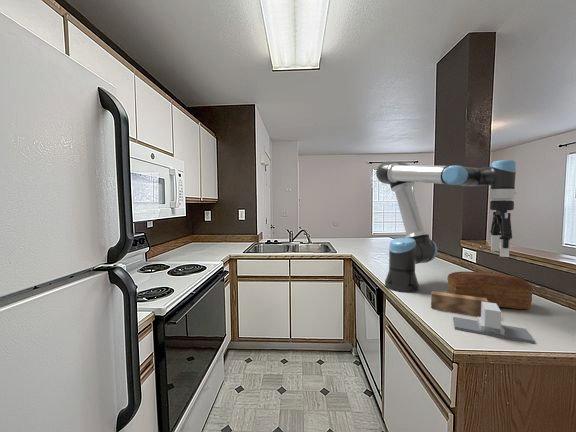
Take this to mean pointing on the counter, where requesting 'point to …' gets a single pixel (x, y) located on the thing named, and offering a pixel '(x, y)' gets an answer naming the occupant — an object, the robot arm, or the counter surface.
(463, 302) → the walnut beam
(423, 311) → the counter surface
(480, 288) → the bread
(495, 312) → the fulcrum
